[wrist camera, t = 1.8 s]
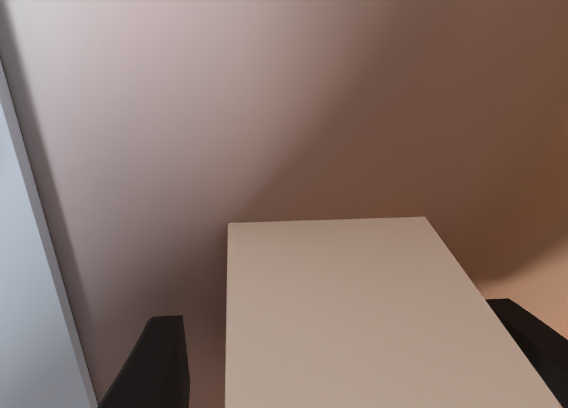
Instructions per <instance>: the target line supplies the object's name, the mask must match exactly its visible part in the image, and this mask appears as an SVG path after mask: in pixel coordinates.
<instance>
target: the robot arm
mask: <svg viewBox="0 0 568 408" xmlns="http://www.w3.org/2000/svg"><path fill="white" fill-rule="evenodd" d="M486 302H487V303H488V305H489V306H490V307H491V309H492V310H493V312H494V313H495V314H496V316H497V317H498V319H499V320H500V321H501V323H502V324H503V325H504V327H505V328H506V330H507V331H508V332H509V334H510V335H511V337H512V338H513V339H514V341H515V342H516V343H517V345H518V346H519V348H520V349H521V350H522V352H523V353H524V355H525V356H526V357H527V359H528V360H529V362H530V363H531V364H532V366H533V367H534V368H535V370H536V371H537V373H538V374H539V375H540V377H541V378H542V380H543V381H544V382H545V384H546V385H547V387H548V388H549V389H550V391H551V392H552V393H553V395H554V396H555V398H556V399H557V400H558V402H559V403H560V405H561V406H562V407H563V408H568V340H567V339H566V338H564V337H563V336H561V335H560V334H559V333H557V332H556V331H554V330H553V329H552V328H550V327H549V326H548V325H546V324H545V323H543V322H542V321H541V320H539V319H538V318H536V317H535V316H534V315H532V314H531V313H529V312H528V311H526V310H525V309H524V308H522V307H521V306H519V305H518V304H516V303H515V302H513V301H512V300H510V299H508V298H506V299H487V300H486ZM189 393H190V376H189V367H188V359H187V350H186V342H185V333H184V325H183V316H182V315H178V316H159V317H152V318H151V319H150V320H149V321H148V322H147V324H146V326H145V328H144V330H143V332H142V334H141V336H140V337H139V339H138V341H137V343H136V345H135V347H134V348H133V350H132V352H131V354H130V356H129V357H128V359H127V361H126V362H125V364H124V366H123V367H122V369H121V371H120V372H119V374H118V376H117V377H116V379H115V381H114V382H113V384H112V385H111V387H110V388H109V390H108V392H107V393H106V395H105V396H104V398H103V399H102V401H101V403H100V404H99V406H98V407H97V408H189Z"/></svg>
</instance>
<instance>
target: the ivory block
mask: <svg viewBox="0 0 568 408" xmlns="http://www.w3.org/2000/svg"><path fill="white" fill-rule="evenodd" d="M225 408H563V407H562V406H561V405H560V403H559V402H558V400H557V399H556V398H555V396H554V395H553V393H552V392H551V391H550V389H549V388H548V387H547V385H546V384H545V382H544V381H543V380H542V378H541V377H540V375H539V374H538V373H537V371H536V370H535V368H534V367H533V366H532V364H531V363H530V362H529V360H528V359H527V357H526V356H525V355H524V353H523V352H522V350H521V349H520V348H519V346H518V345H517V343H516V342H515V341H514V339H513V338H512V337H511V335H510V334H509V332H508V331H507V330H506V328H505V327H504V325H503V324H502V323H501V321H500V320H499V319H498V317H497V316H496V314H495V313H494V312H493V310H492V309H491V307H490V306H489V305H488V303H487V302H486V300H485V299H484V298H483V296H482V295H481V294H480V292H479V291H478V289H477V288H476V287H475V285H474V284H473V282H472V281H471V280H470V278H469V277H468V276H467V274H466V273H465V271H464V270H463V269H462V267H461V266H460V264H459V263H458V262H457V260H456V259H455V257H454V256H453V255H452V253H451V252H450V251H449V249H448V248H447V246H446V245H445V244H444V242H443V241H442V239H441V238H440V237H439V235H438V234H437V232H436V231H435V230H434V228H433V227H432V226H431V224H430V223H429V221H428V220H427V219H426V217H399V218H368V219H336V220H305V221H274V222H243V223H228V251H227V311H226V372H225Z"/></svg>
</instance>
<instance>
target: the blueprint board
mask: <svg viewBox="0 0 568 408" xmlns="http://www.w3.org/2000/svg"><path fill="white" fill-rule="evenodd" d="M97 407H98V404H97V401H96V397H95V394H94V390H93V387H92V383H91V379H90V376H89V372H88V369H87V365H86V362H85V358H84V355H83V351H82V348H81V344H80V340H79V337H78V333H77V330H76V326H75V323H74V319H73V316H72V312H71V308H70V305H69V301H68V298H67V294H66V291H65V287H64V284H63V280H62V277H61V273H60V269H59V266H58V262H57V259H56V255H55V252H54V248H53V245H52V241H51V237H50V234H49V230H48V227H47V223H46V220H45V216H44V213H43V209H42V206H41V202H40V198H39V195H38V191H37V188H36V184H35V181H34V177H33V174H32V170H31V166H30V163H29V159H28V156H27V152H26V149H25V145H24V142H23V138H22V135H21V131H20V127H19V124H18V120H17V117H16V113H15V110H14V106H13V103H12V99H11V95H10V92H9V88H8V85H7V81H6V78H5V74H4V71H3V67H2V63H1V60H0V408H97Z"/></svg>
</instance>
